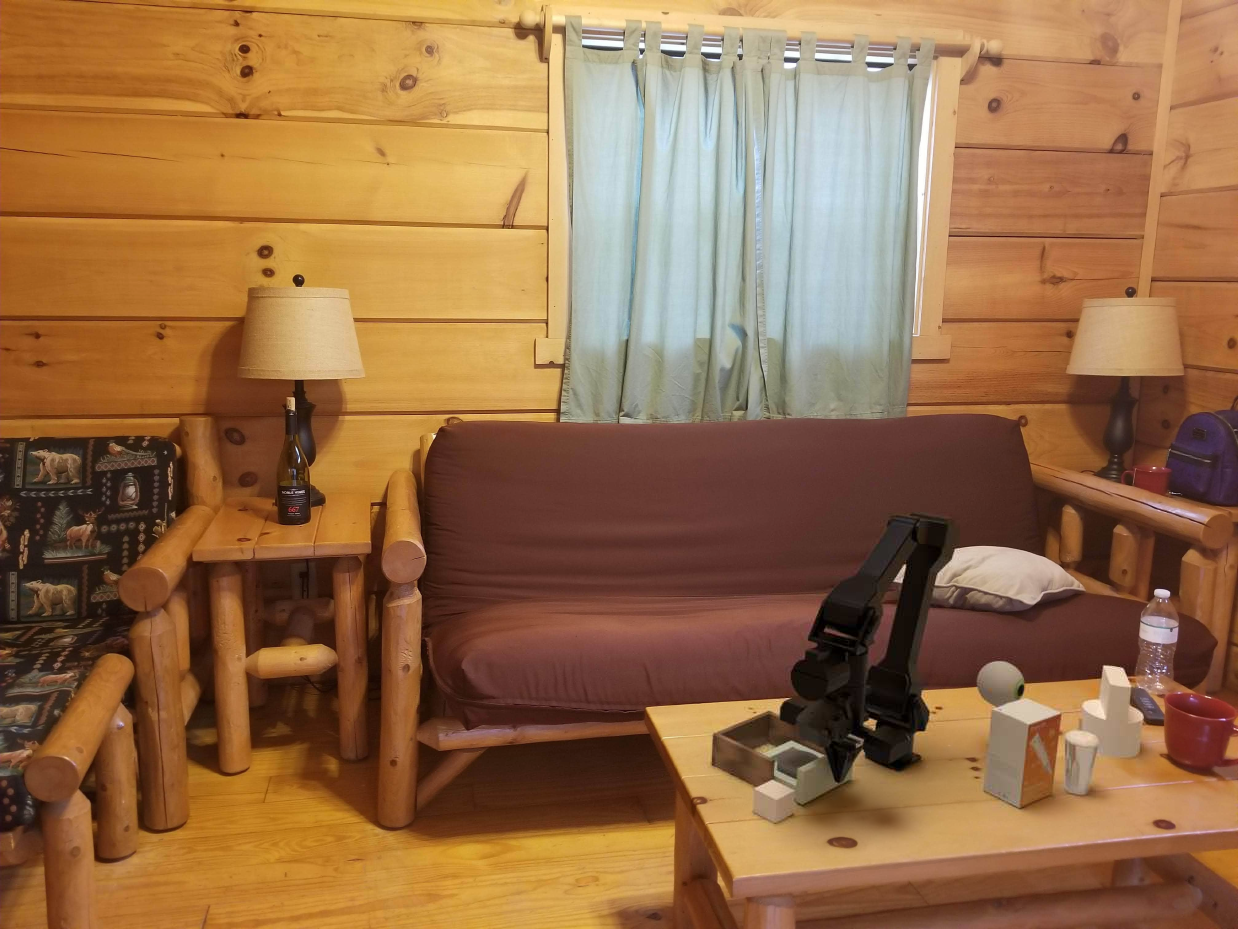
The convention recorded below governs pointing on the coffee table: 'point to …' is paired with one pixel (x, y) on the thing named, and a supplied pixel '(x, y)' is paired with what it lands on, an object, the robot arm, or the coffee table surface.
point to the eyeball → (1000, 683)
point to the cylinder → (793, 761)
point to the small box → (1022, 752)
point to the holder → (740, 740)
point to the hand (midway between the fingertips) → (838, 781)
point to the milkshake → (1079, 760)
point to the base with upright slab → (1114, 716)
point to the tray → (806, 774)
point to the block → (773, 801)
